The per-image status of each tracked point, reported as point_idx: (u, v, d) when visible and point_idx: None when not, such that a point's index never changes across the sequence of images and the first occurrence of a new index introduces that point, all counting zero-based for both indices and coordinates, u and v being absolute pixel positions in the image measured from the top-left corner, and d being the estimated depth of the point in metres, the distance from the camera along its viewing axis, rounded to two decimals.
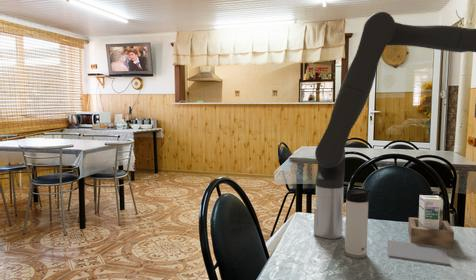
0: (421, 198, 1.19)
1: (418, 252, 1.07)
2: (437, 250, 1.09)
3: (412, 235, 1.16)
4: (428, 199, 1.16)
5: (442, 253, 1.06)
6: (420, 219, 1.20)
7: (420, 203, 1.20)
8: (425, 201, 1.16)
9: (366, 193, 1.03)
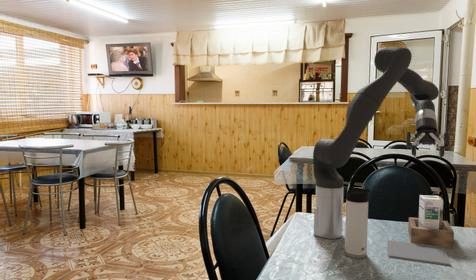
0: (421, 198, 1.19)
1: (418, 252, 1.07)
2: (437, 250, 1.09)
3: (412, 235, 1.16)
4: (428, 199, 1.16)
5: (442, 253, 1.06)
6: (420, 219, 1.20)
7: (420, 203, 1.20)
8: (425, 201, 1.16)
9: (366, 193, 1.03)
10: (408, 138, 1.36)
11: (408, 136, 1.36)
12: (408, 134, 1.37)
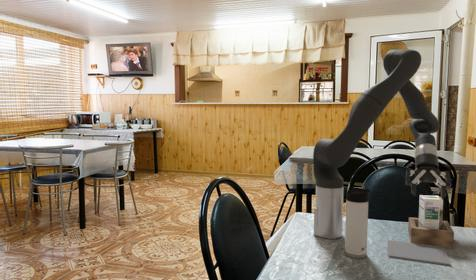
0: (421, 198, 1.19)
1: (418, 252, 1.07)
2: (437, 250, 1.09)
3: (412, 235, 1.16)
4: (428, 199, 1.16)
5: (442, 253, 1.06)
6: (420, 219, 1.20)
7: (420, 203, 1.20)
8: (425, 201, 1.16)
9: (366, 193, 1.03)
10: (408, 175, 1.29)
11: (408, 173, 1.30)
12: (408, 171, 1.30)
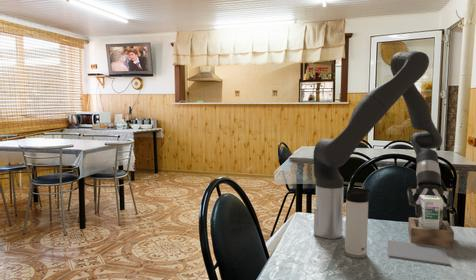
0: (421, 198, 1.19)
1: (418, 252, 1.07)
2: (437, 250, 1.09)
3: (412, 235, 1.16)
4: (428, 199, 1.16)
5: (442, 253, 1.06)
6: (420, 219, 1.20)
7: (420, 203, 1.20)
8: (425, 201, 1.16)
9: (366, 193, 1.03)
10: (410, 195, 1.23)
11: (410, 193, 1.23)
12: (409, 190, 1.24)
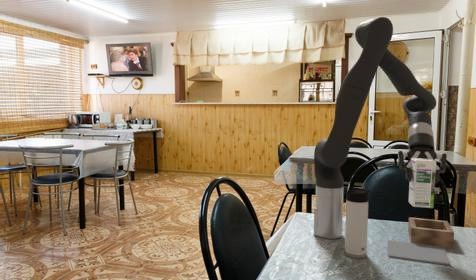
0: (412, 160, 1.10)
1: (418, 252, 1.07)
2: (437, 250, 1.09)
3: (412, 235, 1.16)
4: (420, 161, 1.07)
5: (442, 253, 1.06)
6: (411, 184, 1.11)
7: None
8: (417, 163, 1.07)
9: (366, 193, 1.03)
10: (401, 158, 1.13)
11: (401, 156, 1.14)
12: (400, 154, 1.14)
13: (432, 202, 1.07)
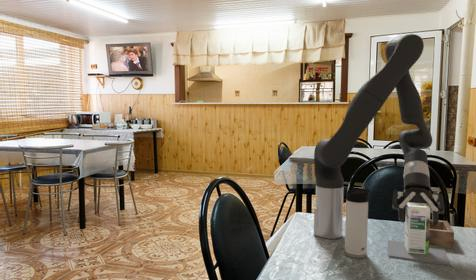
0: (407, 205, 1.08)
1: None
2: (437, 250, 1.09)
3: None
4: (414, 207, 1.05)
5: (442, 253, 1.06)
6: (406, 229, 1.09)
7: (406, 211, 1.09)
8: (410, 209, 1.05)
9: (366, 193, 1.03)
10: (395, 198, 1.12)
11: (395, 195, 1.12)
12: (395, 192, 1.13)
13: (427, 249, 1.05)
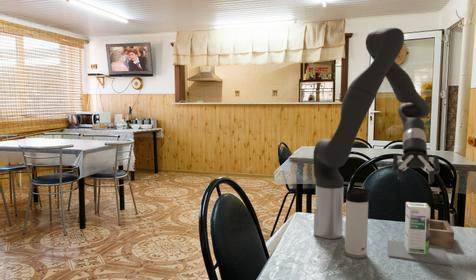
0: (407, 205, 1.08)
1: None
2: (437, 250, 1.09)
3: None
4: (414, 207, 1.05)
5: (442, 253, 1.06)
6: (406, 229, 1.09)
7: (406, 211, 1.09)
8: (410, 209, 1.05)
9: (366, 193, 1.03)
10: (394, 161, 1.23)
11: (395, 158, 1.23)
12: (395, 156, 1.24)
13: (427, 249, 1.05)
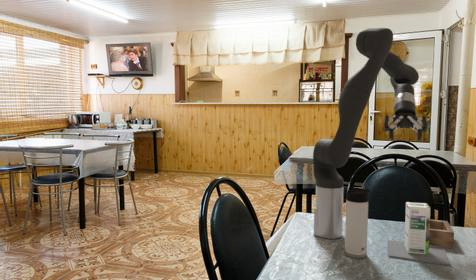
0: (407, 205, 1.08)
1: None
2: (437, 250, 1.09)
3: None
4: (414, 207, 1.05)
5: (442, 253, 1.06)
6: (406, 229, 1.09)
7: (406, 211, 1.09)
8: (410, 209, 1.05)
9: (366, 193, 1.03)
10: (386, 121, 1.33)
11: (386, 119, 1.33)
12: (386, 117, 1.34)
13: (427, 249, 1.05)
